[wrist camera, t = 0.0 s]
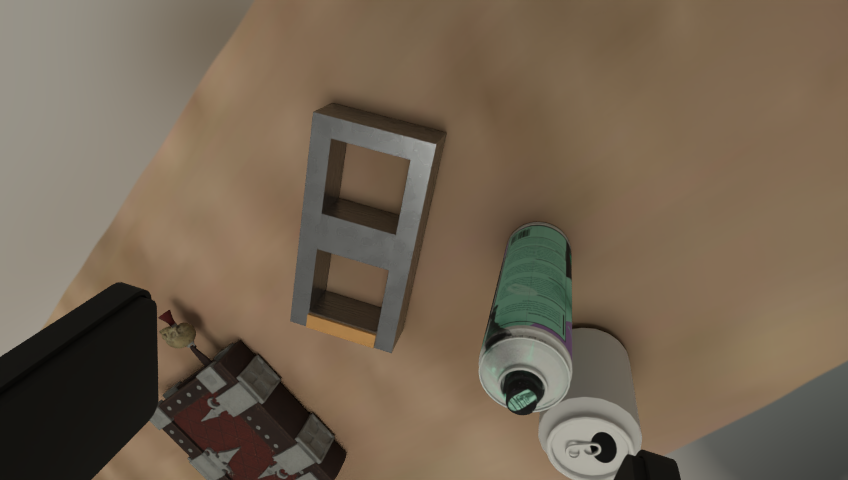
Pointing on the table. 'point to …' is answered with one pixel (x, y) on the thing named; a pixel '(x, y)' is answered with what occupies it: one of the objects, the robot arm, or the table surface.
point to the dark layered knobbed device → (242, 419)
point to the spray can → (530, 323)
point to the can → (593, 411)
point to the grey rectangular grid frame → (362, 225)
